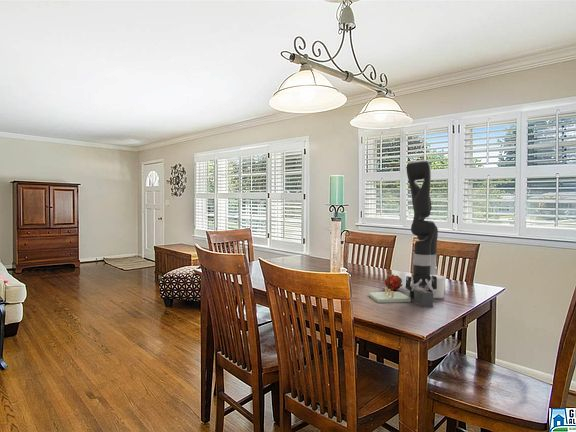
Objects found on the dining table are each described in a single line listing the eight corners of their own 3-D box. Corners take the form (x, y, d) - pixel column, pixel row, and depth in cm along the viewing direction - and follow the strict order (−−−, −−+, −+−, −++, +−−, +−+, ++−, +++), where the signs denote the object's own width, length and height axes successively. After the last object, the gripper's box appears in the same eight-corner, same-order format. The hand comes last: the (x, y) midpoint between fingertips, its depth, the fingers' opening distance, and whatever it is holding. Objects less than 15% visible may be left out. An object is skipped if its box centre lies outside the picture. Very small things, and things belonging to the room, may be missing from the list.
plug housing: (419, 298, 174) (419, 286, 174) (432, 306, 162) (433, 292, 162) (409, 299, 173) (410, 286, 173) (422, 306, 162) (423, 293, 161)
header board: (399, 294, 181) (399, 285, 181) (410, 301, 169) (411, 292, 169) (368, 295, 179) (368, 286, 178) (378, 302, 167) (378, 293, 167)
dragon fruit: (398, 290, 195) (390, 298, 186) (385, 279, 198) (377, 287, 189) (407, 279, 191) (400, 287, 182) (394, 268, 194) (386, 276, 185)
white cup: (444, 295, 181) (444, 275, 181) (445, 299, 174) (446, 278, 173) (427, 293, 184) (428, 274, 183) (427, 297, 176) (428, 277, 176)
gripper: (432, 262, 172) (430, 295, 172) (403, 262, 169) (402, 296, 170) (440, 265, 164) (439, 300, 165) (411, 265, 162) (410, 301, 163)
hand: (420, 298), depth 168 cm, fingers open, 8 cm apart
